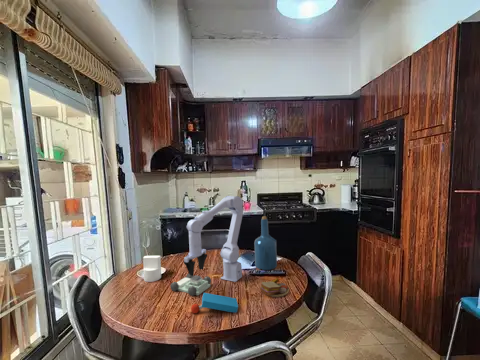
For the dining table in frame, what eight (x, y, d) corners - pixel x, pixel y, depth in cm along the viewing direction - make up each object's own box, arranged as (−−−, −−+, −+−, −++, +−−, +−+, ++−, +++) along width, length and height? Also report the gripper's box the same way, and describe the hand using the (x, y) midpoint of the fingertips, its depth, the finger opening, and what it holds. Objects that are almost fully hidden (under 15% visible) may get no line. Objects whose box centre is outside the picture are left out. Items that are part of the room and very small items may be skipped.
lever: (232, 314, 100) (190, 307, 98) (236, 298, 101) (194, 290, 98) (234, 324, 94) (189, 316, 91) (238, 307, 94) (193, 299, 91)
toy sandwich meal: (294, 295, 106) (293, 284, 106) (266, 301, 102) (266, 290, 102) (281, 283, 118) (280, 274, 118) (256, 288, 114) (255, 278, 114)
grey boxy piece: (202, 285, 116) (202, 275, 116) (197, 289, 112) (197, 279, 112) (195, 284, 118) (195, 274, 118) (190, 287, 114) (189, 277, 114)
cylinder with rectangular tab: (163, 274, 133) (163, 253, 133) (156, 281, 124) (155, 259, 124) (148, 274, 134) (148, 253, 134) (140, 281, 125) (139, 259, 125)
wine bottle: (258, 272, 132) (257, 219, 132) (252, 264, 145) (250, 215, 145) (281, 269, 135) (279, 217, 135) (272, 261, 148) (271, 214, 148)
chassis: (212, 285, 118) (211, 277, 118) (195, 297, 107) (195, 288, 107) (187, 279, 126) (187, 272, 126) (169, 290, 114) (169, 282, 114)
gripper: (198, 239, 123) (199, 265, 123) (178, 247, 110) (179, 276, 110) (209, 241, 119) (210, 267, 120) (190, 249, 107) (191, 279, 107)
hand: (196, 272), depth 115 cm, fingers open, 7 cm apart
